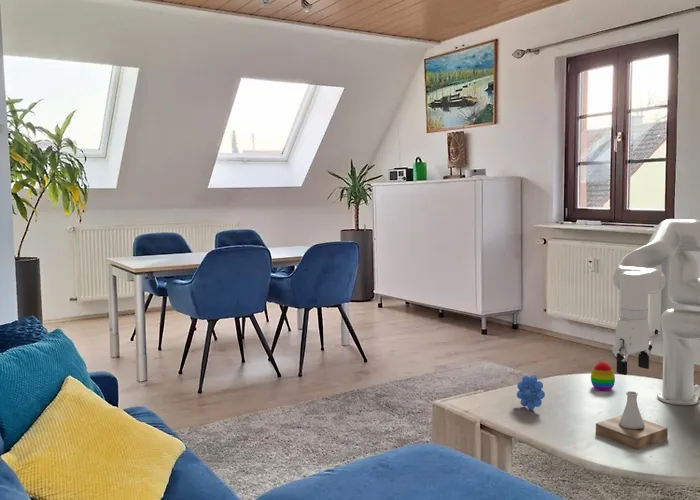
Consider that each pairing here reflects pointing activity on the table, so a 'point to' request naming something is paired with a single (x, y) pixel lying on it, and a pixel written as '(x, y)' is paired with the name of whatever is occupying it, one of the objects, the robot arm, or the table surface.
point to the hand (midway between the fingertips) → (632, 370)
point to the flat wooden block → (631, 433)
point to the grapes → (530, 392)
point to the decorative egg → (602, 377)
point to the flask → (631, 413)
